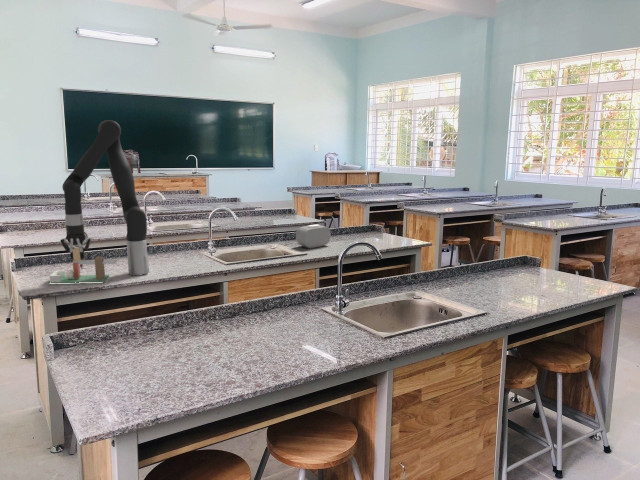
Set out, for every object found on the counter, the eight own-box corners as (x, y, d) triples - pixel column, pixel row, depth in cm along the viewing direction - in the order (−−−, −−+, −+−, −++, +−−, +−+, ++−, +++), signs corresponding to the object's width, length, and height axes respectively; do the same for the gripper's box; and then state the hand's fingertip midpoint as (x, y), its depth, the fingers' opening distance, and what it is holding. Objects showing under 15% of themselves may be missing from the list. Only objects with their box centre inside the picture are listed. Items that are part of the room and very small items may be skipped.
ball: (77, 276, 244) (74, 268, 243) (74, 279, 240) (71, 271, 239) (68, 278, 243) (65, 270, 242) (65, 281, 240) (63, 273, 239)
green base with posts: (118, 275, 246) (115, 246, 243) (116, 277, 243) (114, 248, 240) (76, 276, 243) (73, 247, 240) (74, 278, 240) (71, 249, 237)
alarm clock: (320, 242, 331) (321, 222, 328) (330, 245, 324) (330, 224, 321) (295, 246, 318) (295, 225, 315) (304, 249, 311) (304, 228, 308)
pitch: (109, 276, 250) (107, 254, 247) (103, 283, 239) (101, 260, 237) (56, 278, 246) (54, 255, 243) (48, 285, 235) (46, 261, 233)
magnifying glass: (73, 270, 259) (70, 231, 255) (72, 269, 260) (68, 231, 256) (90, 267, 265) (87, 229, 261) (89, 266, 267) (86, 228, 262)
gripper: (92, 221, 241) (95, 257, 245) (61, 222, 239) (64, 257, 243) (88, 224, 234) (91, 261, 238) (55, 225, 232) (59, 262, 235)
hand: (77, 259), depth 240 cm, fingers closed on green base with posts, 3 cm apart
